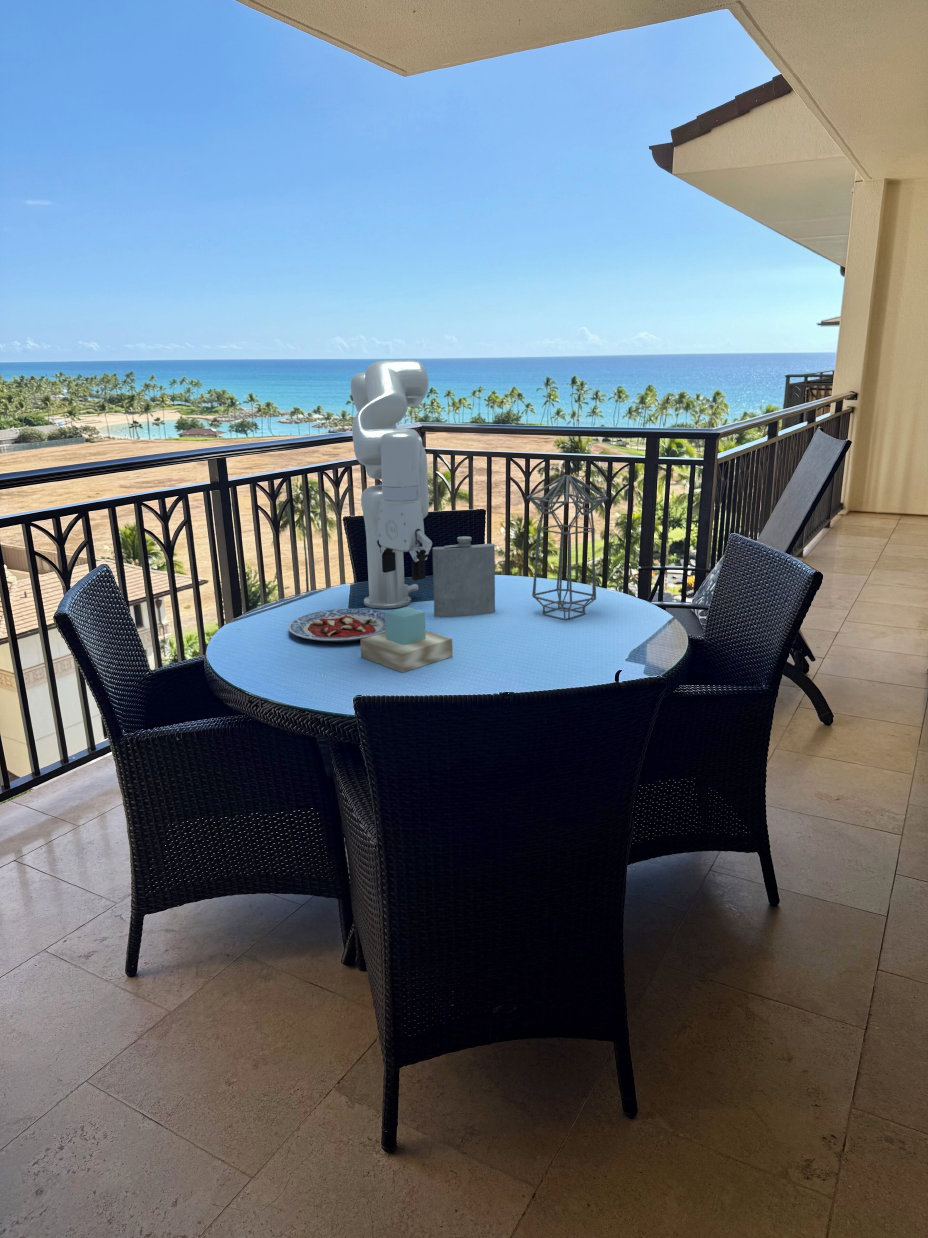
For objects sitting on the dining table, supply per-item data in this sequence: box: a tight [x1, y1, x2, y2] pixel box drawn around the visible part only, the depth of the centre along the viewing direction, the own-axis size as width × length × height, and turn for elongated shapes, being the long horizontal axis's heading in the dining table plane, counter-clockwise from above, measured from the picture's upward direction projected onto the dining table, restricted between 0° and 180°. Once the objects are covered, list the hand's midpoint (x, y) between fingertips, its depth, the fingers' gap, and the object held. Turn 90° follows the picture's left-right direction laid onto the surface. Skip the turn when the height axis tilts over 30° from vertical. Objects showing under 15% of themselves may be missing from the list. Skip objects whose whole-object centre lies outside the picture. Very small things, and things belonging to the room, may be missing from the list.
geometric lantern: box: [526, 474, 610, 621], centre depth 201 cm, size 16×16×35 cm
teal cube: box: [384, 606, 426, 645], centre depth 173 cm, size 6×6×6 cm
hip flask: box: [432, 535, 496, 618], centre depth 204 cm, size 16×4×20 cm, turn 104°
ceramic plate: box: [288, 608, 386, 643], centre depth 194 cm, size 26×26×3 cm
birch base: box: [359, 630, 454, 673], centre depth 175 cm, size 14×14×4 cm
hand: (403, 575), depth 170 cm, fingers open, 9 cm apart
